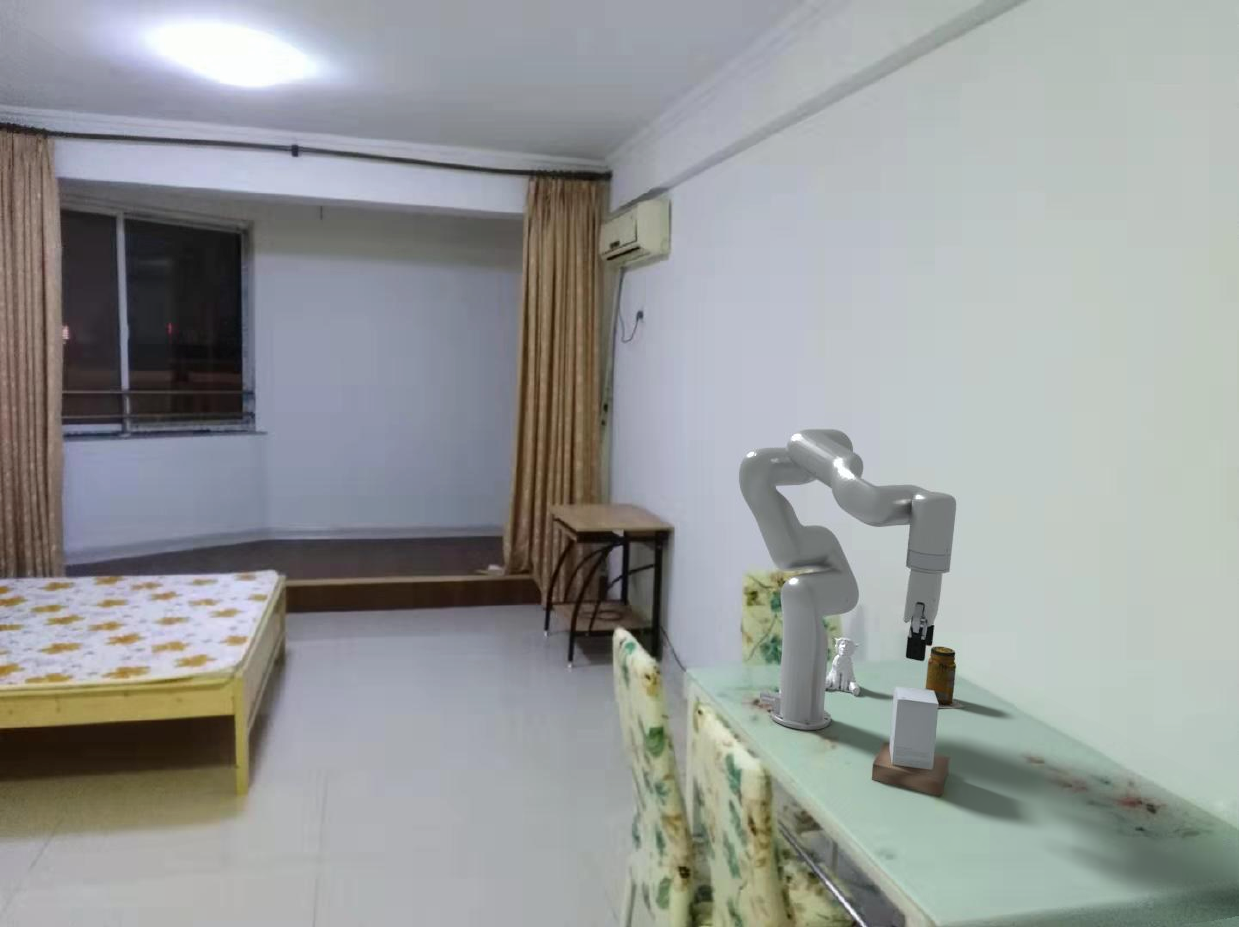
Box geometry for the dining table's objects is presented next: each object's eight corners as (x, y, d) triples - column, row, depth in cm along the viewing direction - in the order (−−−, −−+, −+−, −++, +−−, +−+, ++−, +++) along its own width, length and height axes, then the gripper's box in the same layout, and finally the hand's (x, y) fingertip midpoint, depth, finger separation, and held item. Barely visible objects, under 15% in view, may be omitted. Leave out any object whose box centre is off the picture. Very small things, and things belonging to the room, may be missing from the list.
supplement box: (933, 771, 159) (939, 704, 158) (890, 765, 161) (896, 698, 159) (929, 753, 166) (935, 689, 165) (888, 748, 168) (893, 684, 166)
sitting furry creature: (817, 689, 206) (820, 640, 204) (822, 678, 214) (825, 630, 212) (858, 696, 202) (862, 646, 201) (862, 684, 210) (866, 635, 209)
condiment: (943, 693, 207) (948, 644, 205) (965, 707, 198) (970, 656, 197) (915, 695, 205) (920, 645, 204) (936, 709, 197) (940, 657, 195)
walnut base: (871, 779, 161) (872, 763, 161) (882, 756, 171) (884, 741, 171) (940, 796, 156) (941, 780, 156) (948, 771, 166) (949, 756, 165)
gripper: (914, 548, 168) (905, 635, 170) (898, 566, 153) (889, 661, 155) (955, 554, 165) (946, 642, 167) (944, 573, 150) (934, 670, 152)
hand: (919, 651), depth 161 cm, fingers open, 9 cm apart
